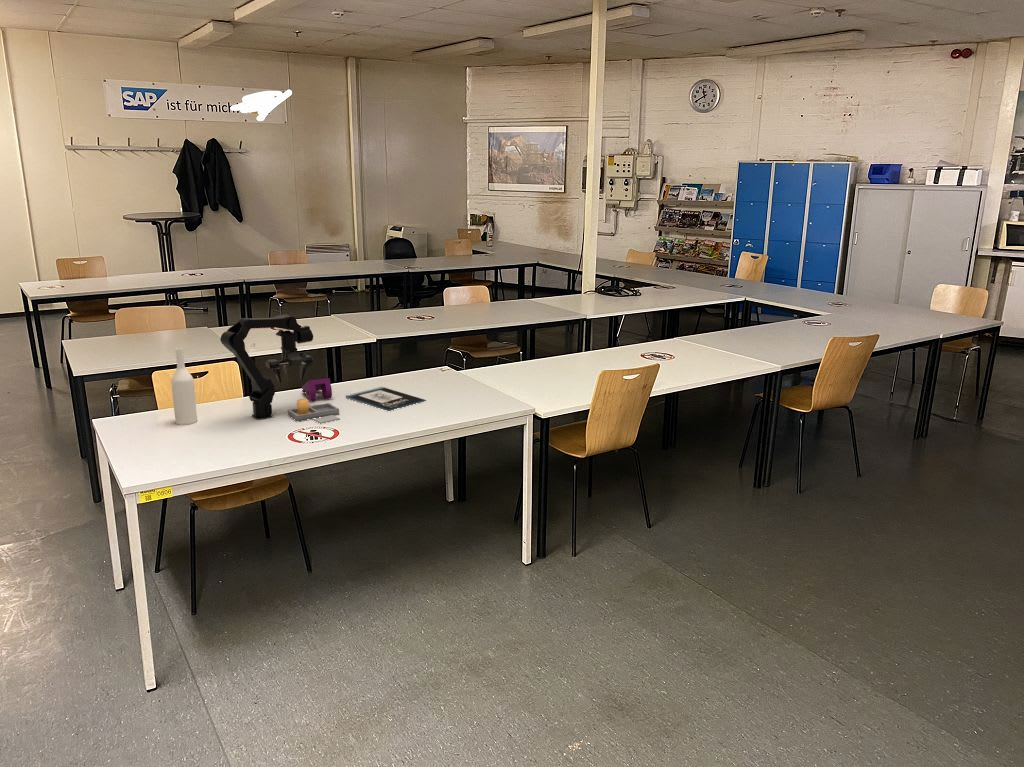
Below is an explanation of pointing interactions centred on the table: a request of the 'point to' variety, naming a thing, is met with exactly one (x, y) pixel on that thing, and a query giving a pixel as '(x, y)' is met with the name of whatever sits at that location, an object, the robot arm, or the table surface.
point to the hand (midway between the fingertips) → (291, 381)
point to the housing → (315, 412)
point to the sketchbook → (384, 398)
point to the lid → (326, 419)
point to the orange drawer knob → (302, 406)
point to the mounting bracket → (317, 388)
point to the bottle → (183, 393)
